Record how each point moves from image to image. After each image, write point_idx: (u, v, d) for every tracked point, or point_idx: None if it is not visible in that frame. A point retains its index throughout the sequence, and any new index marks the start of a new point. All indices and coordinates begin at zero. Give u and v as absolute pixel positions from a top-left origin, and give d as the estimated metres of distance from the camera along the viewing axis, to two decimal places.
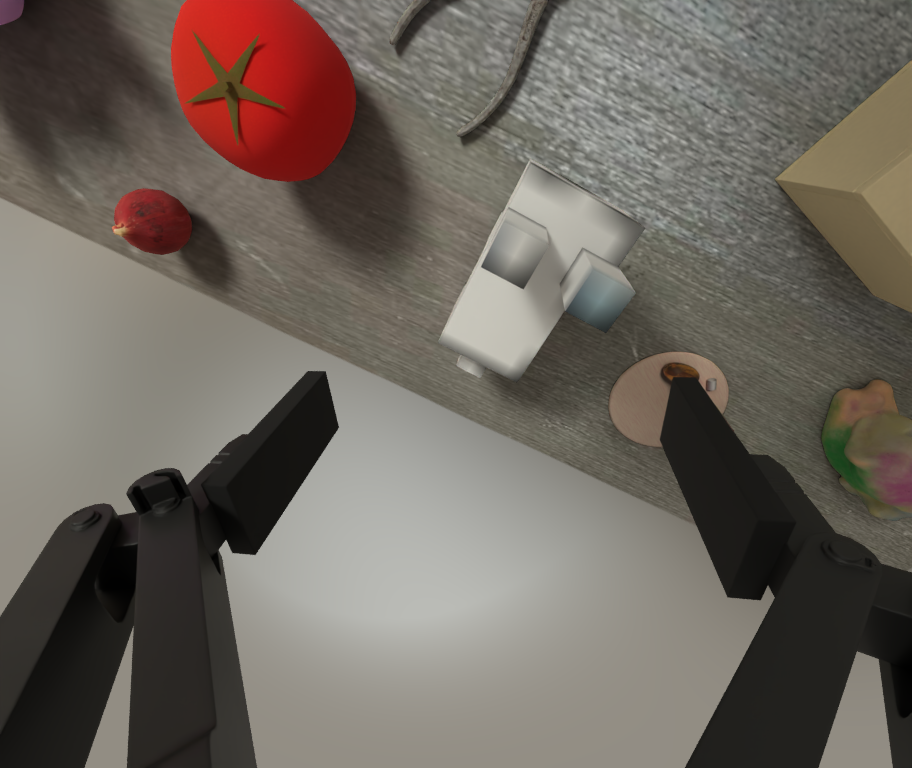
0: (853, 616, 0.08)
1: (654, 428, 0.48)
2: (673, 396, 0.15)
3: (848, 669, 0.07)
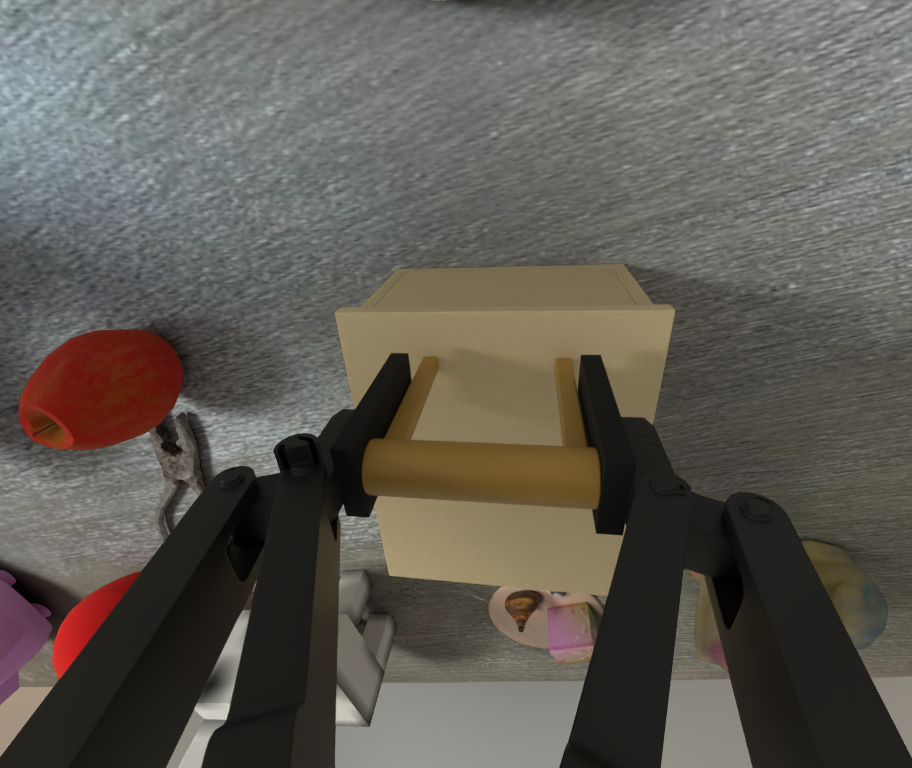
0: (678, 534, 0.09)
1: None
2: (580, 371, 0.17)
3: (681, 577, 0.09)
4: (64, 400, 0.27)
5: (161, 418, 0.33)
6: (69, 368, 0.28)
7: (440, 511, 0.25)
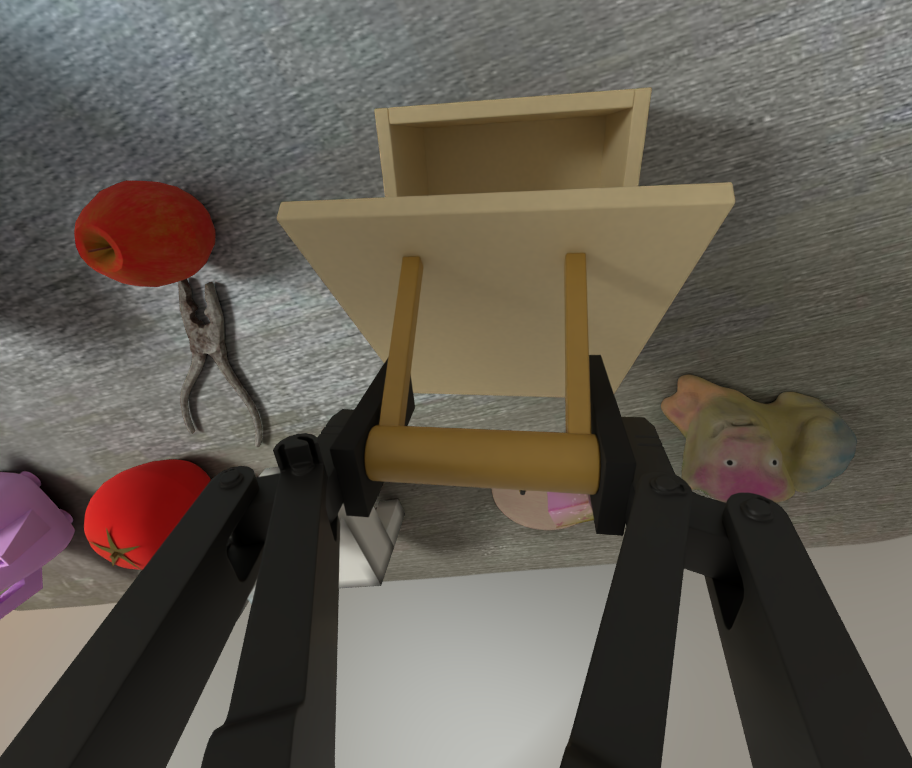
0: (678, 534, 0.09)
1: None
2: None
3: (681, 577, 0.09)
4: (116, 222, 0.30)
5: (196, 266, 0.36)
6: (120, 197, 0.31)
7: (445, 360, 0.25)
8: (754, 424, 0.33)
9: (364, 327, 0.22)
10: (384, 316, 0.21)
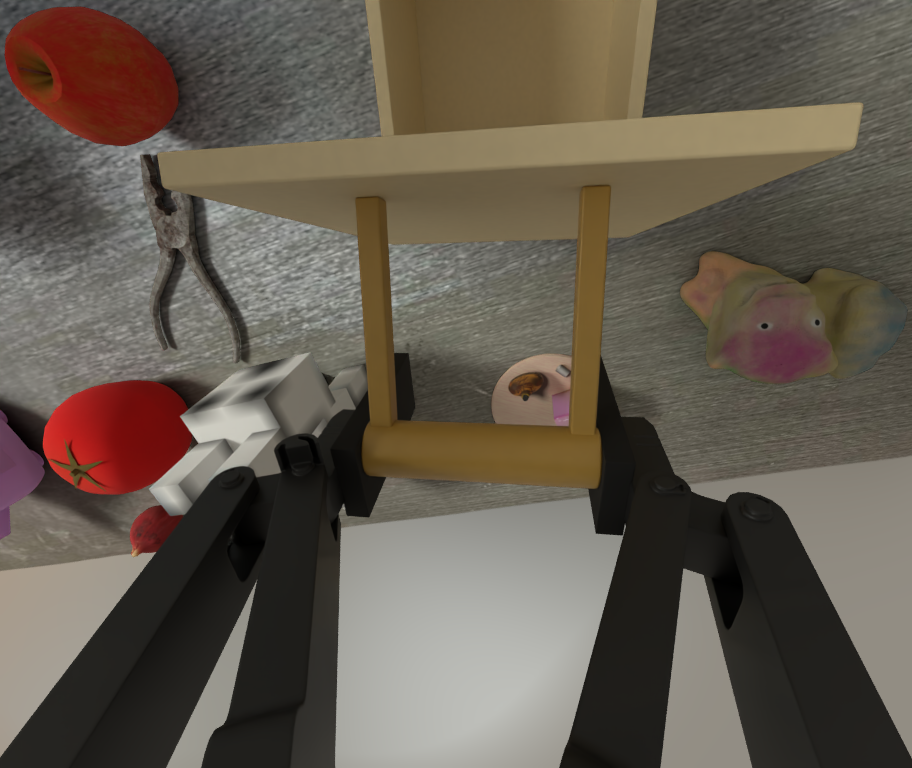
0: (678, 533, 0.09)
1: None
2: None
3: (681, 577, 0.09)
4: (52, 35, 0.26)
5: (155, 118, 0.31)
6: (58, 12, 0.27)
7: (432, 233, 0.21)
8: None
9: (326, 226, 0.18)
10: (348, 221, 0.17)
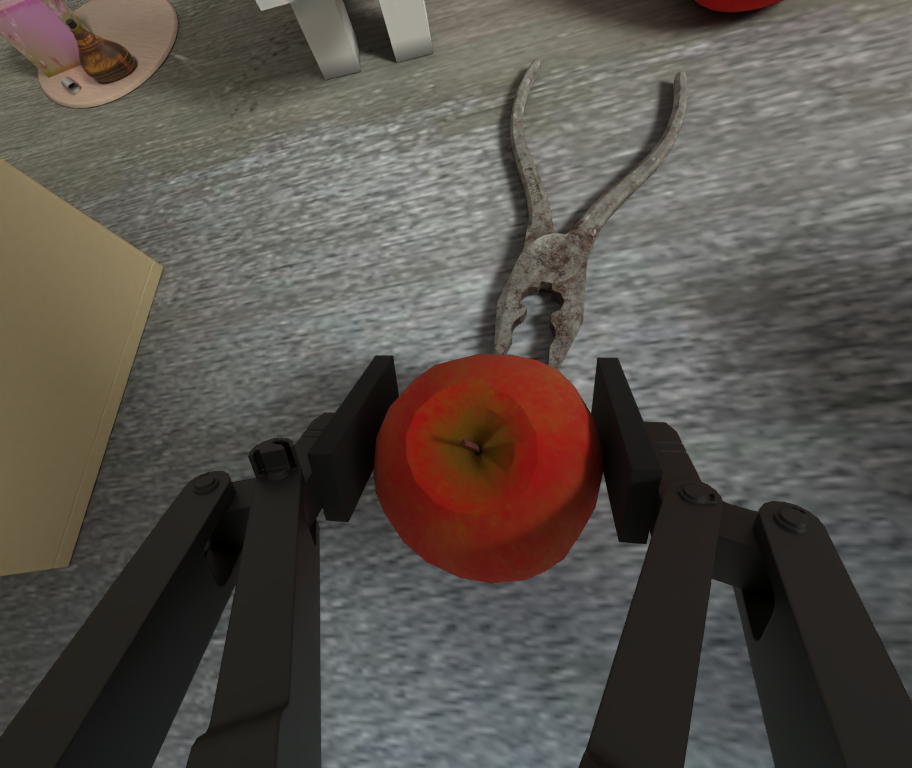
0: (707, 544, 0.09)
1: (99, 15, 0.34)
2: (597, 374, 0.16)
3: (709, 589, 0.08)
4: (406, 504, 0.12)
5: None
6: (428, 556, 0.13)
7: None
8: None
9: None
10: None
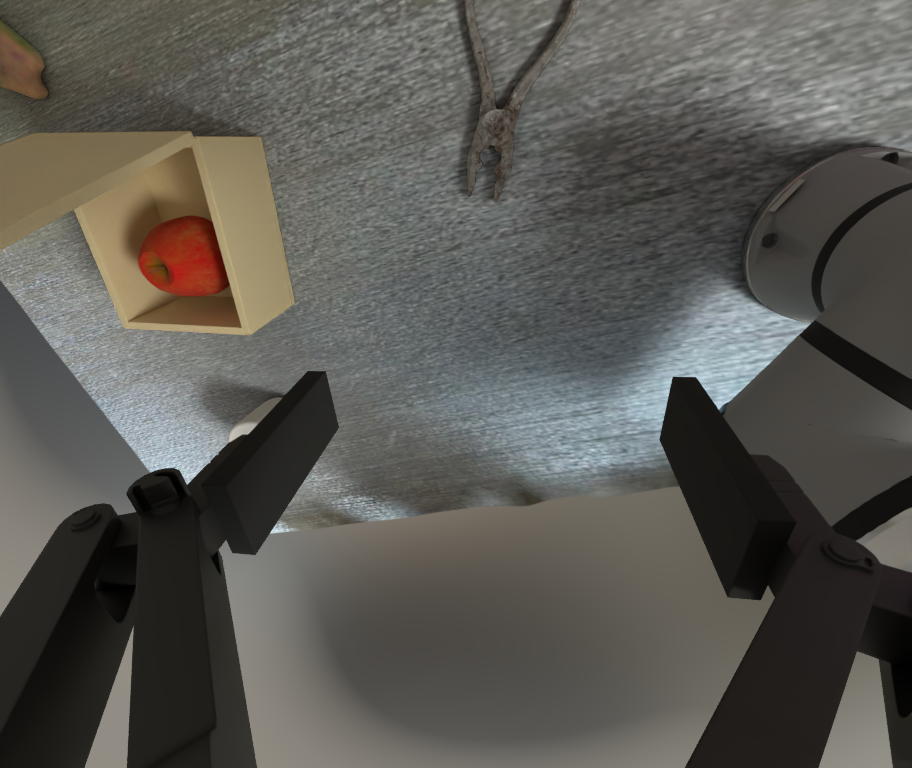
0: (853, 616, 0.08)
1: None
2: (673, 396, 0.15)
3: (848, 668, 0.07)
4: (152, 284, 0.42)
5: None
6: None
7: (89, 157, 0.31)
8: None
9: (91, 179, 0.27)
10: (59, 185, 0.27)
